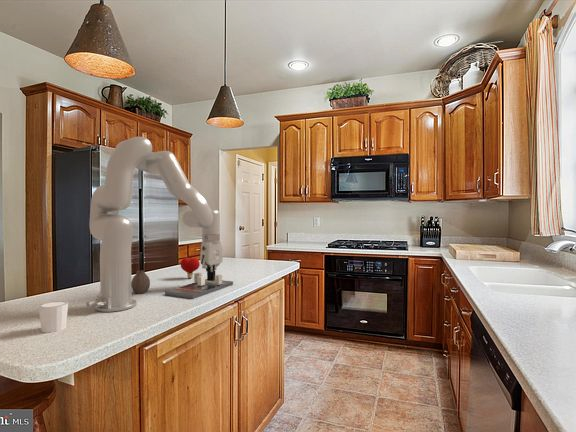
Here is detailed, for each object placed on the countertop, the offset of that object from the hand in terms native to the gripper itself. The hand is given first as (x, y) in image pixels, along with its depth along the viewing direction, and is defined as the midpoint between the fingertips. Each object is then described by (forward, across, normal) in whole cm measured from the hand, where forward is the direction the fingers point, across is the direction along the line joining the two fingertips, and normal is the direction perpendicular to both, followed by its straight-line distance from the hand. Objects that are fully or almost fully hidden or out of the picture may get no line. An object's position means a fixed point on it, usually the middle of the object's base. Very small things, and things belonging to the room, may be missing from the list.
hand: (211, 280), depth 146 cm
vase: (+3, -21, +19) cm, 28 cm away
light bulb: (+3, +9, +20) cm, 22 cm away
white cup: (+3, -61, +7) cm, 61 cm away
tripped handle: (+1, -7, 0) cm, 7 cm away
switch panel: (+3, -7, 0) cm, 7 cm away
